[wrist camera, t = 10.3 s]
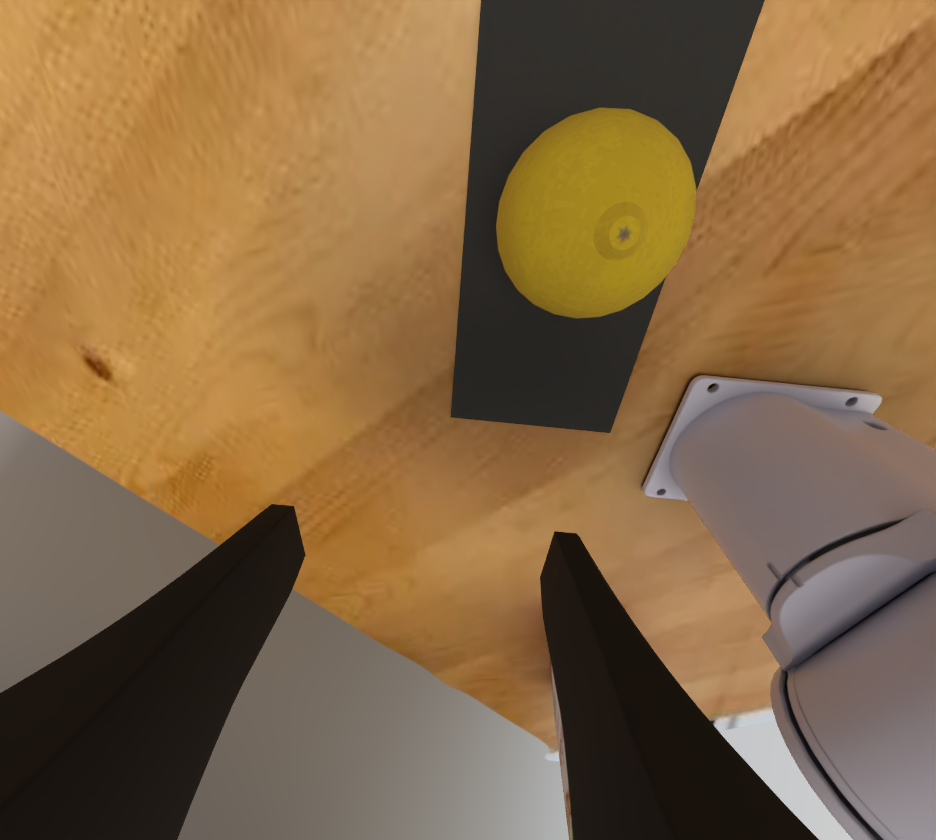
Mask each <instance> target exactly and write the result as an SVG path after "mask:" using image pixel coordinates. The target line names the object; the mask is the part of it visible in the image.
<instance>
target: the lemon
mask: <svg viewBox="0 0 936 840" xmlns="http://www.w3.org/2000/svg"><path fill="white" fill-rule="evenodd" d="M695 207H696V185H695V180H694V175H693V171H692V166H691V162H690V160H689V158H688V156H687V154H686V153H685V151H684V149H683V147H682V145H681V143H680V142H679V140H678V138H676V137H675V136H674V135H673V134H672V133H671V132H670V131H669V130H668V129H667V128H665V127H664V126H663V125H662V124H661V123H660V122H659V121H657V120H656V119H653V118H651V117H648V116H646V115H644V114H641V113H639V112H636V111H634V110H631V109H619V108H597V109H593V110H589V111H586V112H582V113H578V114H575V115H571V116H569V117H567V118H565V119H564V120H562V121H560V122H559V123H557V124H555V125H554V126H552V127H550V128H549V129H547V130H545V131H544V132H543V133H542V134H541V135H540V136H539V137H538V138H537V139H536V140H535V141H534V142H533V143H532V144H531V145H530V146H529V147H528V148H527V149H526V150H525V151H524V152H523V153H522V155H521V157H520V158H519V160H518V161H517V163H516V165H515V166H514V168H513V169H512V171H511V173H510V174H509V176H508V179H507V181H506V184H505V187H504V190H503V193H502V195H501V198H500V201H499V207H498V215H497V223H496V232H497V242H498V251H499V254H500V257H501V260H502V263H503V266H504V269H505V271H506V273H507V275H508V276H509V278H510V279H511V281H512V282H513V284H514V285H515V287H516V288H517V290H518V291H519V292H520V293H521V294H523V295H524V296H525V297H526V298H527V299H528V300H529V301H530V302H532V303H533V304H534V305H536V306H538V307H540V308H542V309H544V310H546V311H548V312H550V313H553V314H556V315H561V316H566V317H571V318H590V317H601V316H604V315H608V314H611V313H614V312H617V311H620V310H623V309H625V308H626V307H628V306H630V305H632V304H633V303H635V302H637V301H639V300H640V299H642V298H644V297H645V296H646V295H647V294H648V293H650V292H651V291H652V290H653V289H654V288H655V287H656V286H658V285H659V284H660V283H661V282H662V281H663V279H664V278H665V277H666V276H667V274H668V273H669V272H670V270H671V269H672V268H673V267H674V265H675V264H676V263H677V261H678V259H679V257H680V255H681V253H682V251H683V249H684V247H685V245H686V243H687V241H688V239H689V236H690V232H691V228H692V224H693V221H694V217H695Z"/></svg>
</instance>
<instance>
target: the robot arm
mask: <svg viewBox="0 0 936 840" xmlns="http://www.w3.org/2000/svg"><path fill="white" fill-rule="evenodd" d="M711 384H714V386H713V387H712V388H710V389H708V387H709V386H710V385H711ZM848 399H849V400H848ZM847 400H848V401H847ZM881 402H882V397H881V396H880V395H878V394H876V393H873V392H868V391H858V390H848V389H838V388H828V387H818V386H808V385H798V384H788V383H778V382H768V381H758V380H748V379H738V378H728V377H718V376H708V375H700V376H697V377H695V378H694V379H693V380H692V381H691V382H690V384H689V386H688V389H687V391H686V393H685V395H684V397H683V399H682V402H681V404H680V406H679V408H678V410H677V413H676V415H675V417H674V419H673V421H672V423H671V426H670V428H669V430H668V432H667V434H666V437H665V439H664V441H663V443H662V445H661V447H660V450H659V452H658V454H657V456H656V458H655V461H654V463H653V465H652V467H651V469H650V471H649V474H648V476H647V478H646V480H645V482H644V485H643V487H642V490H643V492H644V494H645V495H646V496H648V497H656V498H666V499H676V500H687V501H689V502H690V504H691V505H692V507H693V508H694V510H695V511H696V513H697V514H698V516H699V517H700V518H701V520H702V521H703V523H704V524H705V526H706V527H707V529H708V530H709V532H710V533H711V535H712V536H713V537H714V539H715V540H716V542H717V543H718V545H719V546H720V548H721V549H722V551H723V552H724V554H725V555H726V556H727V558H728V559H729V561H730V562H731V564H732V565H733V567H734V568H735V570H736V571H737V573H738V574H739V575H740V577H741V578H742V580H743V581H744V583H745V584H746V586H747V587H748V589H749V590H750V592H751V593H752V594H753V596H754V597H755V599H756V600H757V602H758V603H759V605H760V606H761V608H762V609H763V611H764V612H765V613H766V615H767V616H768V618H769V619H770V621H771V627H770V628H769V630H768V631H767V632H766V633H765V634H764V635H763V636H762V638H763V640H764V641H765V643H766V644H767V646H768V647H769V649H770V651H771V652H772V654H773V655H774V657H775V658H776V660H777V661H778V663H779V665H780V667H779V668H778V670H777V671H776V672H775V673H774V676H773V679H772V682H771V691H770V696H771V702H772V709H773V712H774V715H775V718H776V722H777V725H778V727H779V729H780V732H781V734H782V736H783V739H784V741H785V743H786V745H787V747H788V749H789V751H790V753H791V755H792V756H793V758H794V760H795V762H796V764H797V765H798V767H799V769H800V770H801V772H802V774H803V775H804V777H805V778H806V780H807V781H808V783H809V784H810V786H811V788H812V789H813V790H814V792H815V793H816V794H817V796H818V797H819V798H820V800H821V801H822V802H823V804H824V805H825V806H826V808H827V809H828V810H829V812H830V813H831V814H832V815H833V817H834V818H835V819H836V820H837V821H838V822H839V824H840V825H841V826H842V827H843V828H844V829H845V831H846V832H847V833H848V834H849V835H850V836H851V838H852V839H853V840H936V449H934V448H933V447H931V446H929V445H927V444H925V443H923V442H921V441H920V440H918V439H916V438H914V437H912V436H910V435H909V434H907V433H905V432H903V431H901V430H899V429H897V428H896V427H894V426H892V425H890V424H888V423H886V422H885V421H883V420H881V419H879V418H877V417H875V416H873V415H872V414H873V413H874V412H875V410H876V409H877V408H878V407H879V405H880V404H881ZM659 489H662V490H660V491H658V490H659ZM304 557H305V552H304V547H303V543H302V539H301V535H300V530H299V526H298V522H297V517H296V513H295V509H294V506H286V505H275V504H271V505H270V506H269V507H268V508H266V509H265V510H264V511H262V512H261V513H260V514H259V515H257V516H256V517H255V518H254V519H252V520H251V521H250V522H249V523H247V524H246V525H245V526H244V527H242V528H241V529H240V530H239V531H237V532H236V533H235V534H234V535H232V536H231V537H230V538H229V539H227V540H226V541H225V542H224V543H222V544H221V545H220V546H219V547H217V548H216V549H215V550H213V552H211V553H210V554H208V555H207V556H206V557H204V558H203V559H202V560H201V561H199V562H198V563H197V564H195V565H194V566H193V567H192V568H190V569H189V570H188V571H186V572H185V573H184V574H182V575H181V576H180V577H178V578H177V579H176V580H174V581H173V582H171V583H170V584H169V585H167V586H166V587H165V588H163V589H162V590H161V591H159V592H158V593H157V594H155V595H154V596H152V597H151V598H150V599H148V600H147V601H145V602H144V603H143V604H141V605H140V606H138V607H137V608H136V609H134V610H133V611H131V612H130V613H128V614H127V615H125V616H124V617H122V618H121V619H120V620H118V621H116V622H115V623H113V624H112V625H110V626H109V627H107V628H106V629H104V630H103V631H101V632H100V633H98V634H97V635H95V636H94V637H92V638H90V639H89V640H87V641H86V642H84V643H83V644H81V645H80V646H78V647H76V648H75V649H73V650H72V651H70V652H69V653H67V654H65V655H64V656H62V657H60V658H59V659H57V660H55V661H54V662H52V663H51V664H49V665H47V666H46V667H44V668H42V669H40V670H39V671H37V672H35V673H34V674H32V675H30V676H29V677H27V678H25V679H24V680H22V681H20V682H18V683H17V684H16V685H13V686H12V687H10V688H8V689H7V690H5V691H3V692H2V693H0V840H177V839H178V836H179V834H180V831H181V828H182V826H183V823H184V821H185V818H186V815H187V813H188V810H189V808H190V805H191V803H192V800H193V798H194V795H195V793H196V790H197V788H198V786H199V783H200V781H201V778H202V776H203V773H204V771H205V768H206V766H207V764H208V761H209V759H210V756H211V754H212V751H213V749H214V747H215V744H216V742H217V740H218V737H219V735H220V733H221V730H222V728H223V726H224V723H225V721H226V719H227V717H228V714H229V712H230V710H231V707H232V705H233V703H234V701H235V699H236V697H237V695H238V692H239V690H240V688H241V686H242V684H243V682H244V680H245V678H246V676H247V675H248V673H249V671H250V669H251V667H252V665H253V663H254V661H255V660H256V658H257V656H258V654H259V652H260V650H261V648H262V646H263V644H264V643H265V640H266V639H267V637H268V635H269V633H270V631H271V629H272V627H273V626H274V624H275V622H276V620H277V618H278V616H279V614H280V612H281V610H282V608H283V607H284V605H285V603H286V601H287V599H288V597H289V595H290V593H291V591H292V588H293V586H294V583H295V581H296V578H297V576H298V573H299V571H300V568H301V565H302V563H303V560H304ZM540 582H541V598H542V610H543V619H544V625H545V631H546V637H547V642H548V648H549V653H550V659H551V664H552V670H553V675H554V681H555V687H556V692H557V698H558V703H559V709H560V715H561V722H562V729H563V736H564V746H565V756H566V766H567V776H568V786H569V797H570V809H571V820H572V831H573V840H819V839H818V838H817V837H816V836H814V834H813V833H812V832H811V831H810V830H809V829H808V828H807V827H806V826H805V825H804V824H803V823H802V822H801V821H800V820H799V819H798V818H797V817H796V816H795V815H794V814H793V813H792V812H791V811H790V810H789V809H788V807H787V806H786V805H785V804H784V803H783V802H782V801H781V800H780V799H779V798H778V797H777V796H776V795H775V793H774V792H773V791H772V790H771V789H770V788H769V787H768V786H767V785H766V784H765V782H764V781H763V780H762V779H761V778H760V777H759V776H758V775H757V774H756V773H755V772H754V770H753V769H752V768H751V767H750V766H749V765H748V764H747V763H746V762H745V761H744V759H743V758H742V757H741V756H740V755H739V754H738V753H737V752H736V751H735V750H734V748H733V747H732V746H731V745H730V744H729V743H728V742H727V741H726V740H725V738H724V737H723V736H722V735H721V734H720V733H719V731H718V730H717V729H716V728H715V727H714V725H713V724H712V723H711V722H710V721H709V720H708V718H707V717H706V716H705V715H704V714H703V713H702V711H701V710H700V709H699V708H698V707H697V705H696V704H695V703H694V702H693V700H692V699H691V698H690V697H689V696H688V694H687V693H686V692H685V691H684V689H683V688H682V687H681V686H680V684H679V683H678V682H677V681H676V679H675V678H674V677H673V676H672V674H671V673H670V672H669V670H668V669H667V668H666V666H665V665H664V664H663V662H662V661H661V660H660V659H659V657H658V656H657V654H656V653H655V652H654V650H653V649H652V648H651V646H650V645H649V644H648V642H647V641H646V639H645V638H644V637H643V635H642V634H641V632H640V631H639V630H638V628H637V627H636V625H635V624H634V622H633V621H632V620H631V618H630V617H629V615H628V614H627V612H626V611H625V609H624V608H623V606H622V605H621V603H620V602H619V600H618V599H617V597H616V596H615V594H614V593H613V591H612V590H611V588H610V586H609V585H608V583H607V582H606V580H605V579H604V577H603V575H602V574H601V572H600V570H599V569H598V567H597V566H596V564H595V562H594V561H593V559H592V557H591V556H590V554H589V552H588V551H587V549H586V547H585V546H584V544H583V542H582V540H581V539H580V537H579V536H578V535H577V534H576V533H565V532H554V535H553V538H552V541H551V545H550V548H549V551H548V554H547V557H546V561H545V564H544V567H543V570H542V573H541V577H540Z"/></svg>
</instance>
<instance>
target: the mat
mask: <svg viewBox="0 0 936 840" xmlns="http://www.w3.org/2000/svg"><path fill="white" fill-rule="evenodd" d="M763 3H764V0H481V12H480V26H479V39H478V53H477V67H476V81H475V94H474V108H473V122H472V135H471V149H470V163H469V177H468V190H467V204H466V218H465V231H464V245H463V259H462V273H461V286H460V300H459V314H458V327H457V341H456V355H455V369H454V382H453V396H452V410H451V417H454V418H464V419H475V420H485V421H495V422H505V423H515V424H525V425H535V426H546V427H556V428H566V429H576V430H586V431H596V432H606V433H610V432H611V429H612V426H613V423H614V420H615V418H616V415H617V412H618V409H619V406H620V404H621V401H622V398H623V395H624V392H625V390H626V387H627V384H628V381H629V378H630V376H631V373H632V370H633V367H634V364H635V362H636V359H637V356H638V353H639V350H640V348H641V345H642V342H643V339H644V336H645V334H646V331H647V328H648V325H649V322H650V319H651V317H652V314H653V311H654V308H655V305H656V303H657V300H658V297H659V294H660V291H661V289H662V286H663V283H664V280H665V278H664V279H663V281H662V282H661V283H660V284H659V285H658V286H656V287H655V288H654V289H653V290H652V291H651V292H650V293H648V294H647V295H646V296H645V297H644V298H642V299H640V300H639V301H637V302H635V303H633V304H632V305H630V306H628V307H626V308H625V309H623V310H620V311H617V312H614V313H611V314H608V315H604V316H601V317H590V318H571V317H566V316H561V315H556V314H553V313H550V312H548V311H546V310H544V309H542V308H540V307H538V306H536V305H534V304H533V303H532V302H530V301H529V300H528V299H527V298H526V297H525V296H524V295H523V294H521V293H520V292H519V291H518V290H517V288H516V287H515V285H514V284H513V282H512V281H511V279H510V278H509V276H508V275H507V273H506V271H505V269H504V266H503V263H502V260H501V257H500V254H499V251H498V242H497V232H496V223H497V215H498V207H499V201H500V198H501V195H502V193H503V190H504V187H505V184H506V181H507V179H508V176H509V174H510V173H511V171H512V169H513V168H514V166H515V165H516V163H517V161H518V160H519V158H520V157H521V155H522V153H523V152H524V151H525V150H526V149H527V148H528V147H529V146H530V145H531V144H532V143H533V142H534V141H535V140H536V139H537V138H538V137H539V136H540V135H541V134H542V133H543V132H544V131H545V130H547V129H549V128H550V127H552V126H554V125H555V124H557V123H559V122H560V121H562V120H564V119H565V118H567V117H569V116H571V115H575V114H578V113H582V112H586V111H589V110H593V109H597V108H619V109H631V110H634V111H636V112H639V113H641V114H644V115H646V116H648V117H651V118H653V119H656V120H657V121H659V122H660V123H661V124H662V125H663V126H664V127H665V128H667V129H668V130H669V131H670V132H671V133H672V134H673V135H674V136H675V137H676V138H678V140H679V142H680V143H681V145H682V147H683V149H684V151H685V153H686V154H687V156H688V158H689V160H690V162H691V166H692V171H693V175H694V180H695V185H696V191H697V188H698V185H699V182H700V179H701V177H702V174H703V171H704V168H705V165H706V163H707V160H708V157H709V154H710V151H711V149H712V146H713V143H714V140H715V137H716V135H717V132H718V129H719V126H720V123H721V121H722V118H723V115H724V112H725V109H726V107H727V104H728V101H729V98H730V95H731V93H732V90H733V87H734V84H735V81H736V79H737V76H738V73H739V70H740V67H741V65H742V62H743V59H744V56H745V53H746V51H747V48H748V45H749V42H750V39H751V37H752V34H753V31H754V28H755V25H756V23H757V20H758V17H759V14H760V11H761V9H762V6H763Z"/></svg>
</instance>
